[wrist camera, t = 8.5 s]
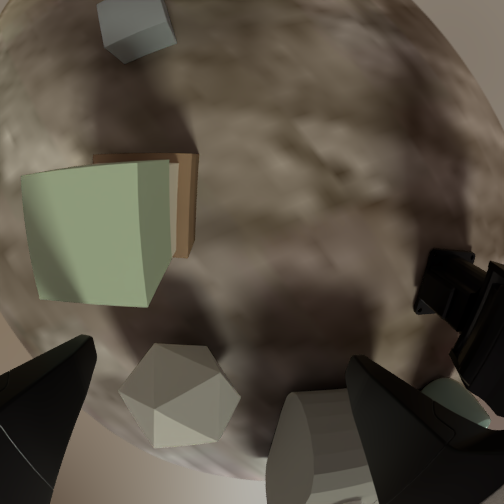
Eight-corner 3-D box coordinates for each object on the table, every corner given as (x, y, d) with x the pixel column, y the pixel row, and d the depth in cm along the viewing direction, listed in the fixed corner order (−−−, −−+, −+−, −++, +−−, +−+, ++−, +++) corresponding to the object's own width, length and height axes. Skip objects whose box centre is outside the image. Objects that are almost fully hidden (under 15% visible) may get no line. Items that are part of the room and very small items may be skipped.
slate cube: (165, 5, 14) (154, -21, 11) (177, 43, 16) (166, 21, 12) (115, 25, 14) (96, 4, 11) (125, 64, 16) (104, 47, 12)
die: (144, 305, 23) (82, 406, 16) (240, 330, 19) (174, 466, 12) (185, 355, 28) (141, 437, 22) (265, 378, 24) (223, 477, 18)
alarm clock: (327, 462, 32) (349, 535, 20) (262, 467, 31) (273, 549, 19) (379, 359, 26) (442, 458, 13) (290, 363, 25) (328, 493, 12)
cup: (461, 364, 28) (501, 410, 19) (436, 405, 31) (468, 451, 21) (421, 373, 28) (462, 430, 18) (396, 415, 30) (426, 470, 21)
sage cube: (169, 159, 12) (137, 162, 7) (171, 259, 13) (147, 307, 9) (79, 166, 11) (20, 176, 7) (86, 257, 13) (40, 298, 8)
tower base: (199, 154, 19) (192, 153, 15) (195, 238, 21) (187, 258, 17) (117, 153, 18) (93, 154, 14) (117, 235, 20) (95, 252, 16)
